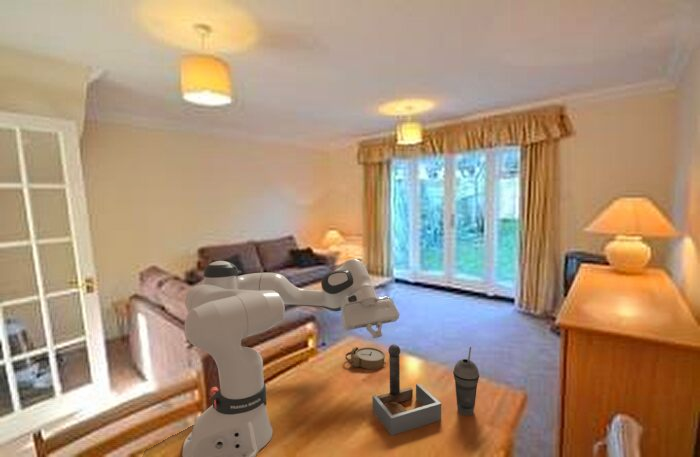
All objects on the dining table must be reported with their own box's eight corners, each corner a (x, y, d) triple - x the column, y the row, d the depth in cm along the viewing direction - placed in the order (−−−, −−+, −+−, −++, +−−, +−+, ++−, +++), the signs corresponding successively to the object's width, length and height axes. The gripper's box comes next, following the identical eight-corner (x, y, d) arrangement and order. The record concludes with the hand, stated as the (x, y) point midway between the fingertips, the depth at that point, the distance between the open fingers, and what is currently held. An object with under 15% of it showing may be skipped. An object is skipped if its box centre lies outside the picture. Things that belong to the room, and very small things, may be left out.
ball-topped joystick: (380, 410, 106) (379, 351, 104) (374, 403, 109) (373, 346, 107) (414, 400, 111) (414, 343, 109) (408, 394, 114) (408, 339, 112)
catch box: (391, 435, 96) (391, 418, 95) (372, 411, 106) (372, 395, 106) (441, 419, 102) (441, 403, 101) (418, 398, 112) (418, 383, 112)
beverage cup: (460, 400, 111) (461, 338, 108) (483, 410, 105) (484, 345, 103) (448, 411, 106) (448, 346, 103) (471, 422, 100) (472, 354, 98)
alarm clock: (387, 361, 130) (346, 356, 130) (385, 374, 131) (344, 368, 130) (384, 348, 142) (346, 342, 141) (381, 359, 142) (344, 354, 142)
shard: (417, 426, 100) (417, 420, 100) (393, 434, 97) (393, 427, 97) (397, 405, 110) (397, 399, 110) (375, 411, 107) (375, 405, 107)
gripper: (388, 300, 133) (401, 335, 125) (336, 308, 125) (347, 346, 117) (393, 291, 128) (408, 327, 120) (340, 299, 121) (352, 338, 113)
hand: (377, 336), depth 119 cm, fingers closed
